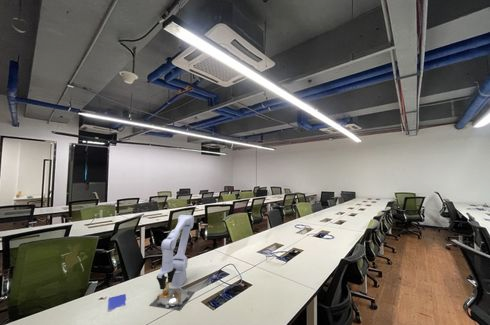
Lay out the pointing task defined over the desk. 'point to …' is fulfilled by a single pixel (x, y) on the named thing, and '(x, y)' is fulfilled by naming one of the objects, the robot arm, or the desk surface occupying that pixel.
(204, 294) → the desk surface
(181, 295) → the tabbed metal disc
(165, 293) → the roller
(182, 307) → the base plate
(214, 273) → the desk surface
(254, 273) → the desk surface
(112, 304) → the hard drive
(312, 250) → the desk surface
